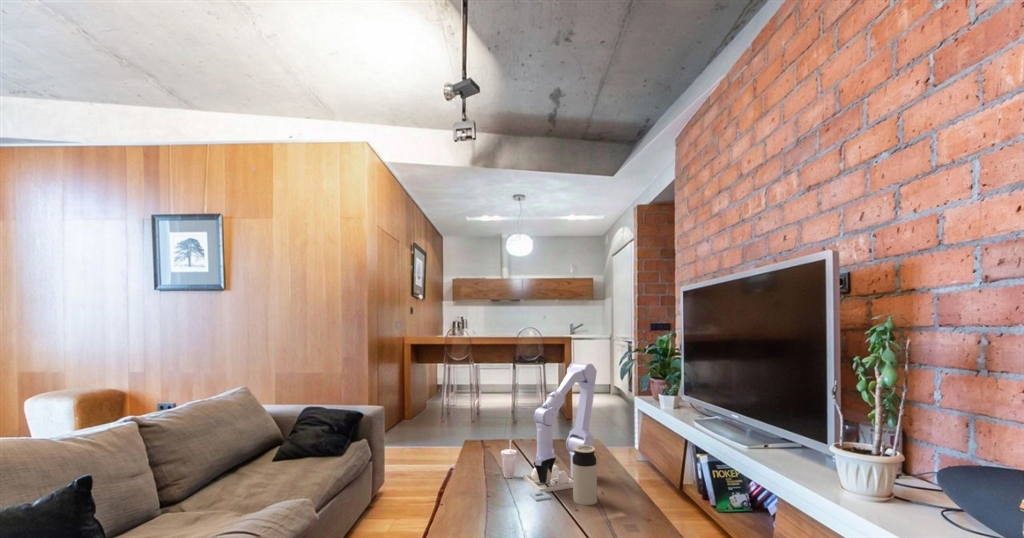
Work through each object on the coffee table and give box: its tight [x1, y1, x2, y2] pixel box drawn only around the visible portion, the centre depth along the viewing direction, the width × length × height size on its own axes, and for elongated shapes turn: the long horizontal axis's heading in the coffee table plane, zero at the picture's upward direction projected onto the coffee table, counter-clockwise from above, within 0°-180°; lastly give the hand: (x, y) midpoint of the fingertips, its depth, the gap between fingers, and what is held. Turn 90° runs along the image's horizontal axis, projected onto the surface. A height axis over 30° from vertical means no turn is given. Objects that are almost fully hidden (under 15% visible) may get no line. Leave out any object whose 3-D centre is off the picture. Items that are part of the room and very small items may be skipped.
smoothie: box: [500, 439, 518, 480], centre depth 179 cm, size 6×6×14 cm
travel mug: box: [572, 445, 598, 506], centre depth 154 cm, size 8×8×18 cm
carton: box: [522, 473, 573, 493], centre depth 169 cm, size 15×15×2 cm
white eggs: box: [530, 464, 570, 485], centre depth 170 cm, size 12×12×5 cm
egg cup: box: [529, 491, 552, 502], centre depth 156 cm, size 6×6×2 cm
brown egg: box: [546, 468, 551, 484], centre depth 165 cm, size 5×5×5 cm
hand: (545, 480), depth 165 cm, fingers closed on brown egg, 4 cm apart
